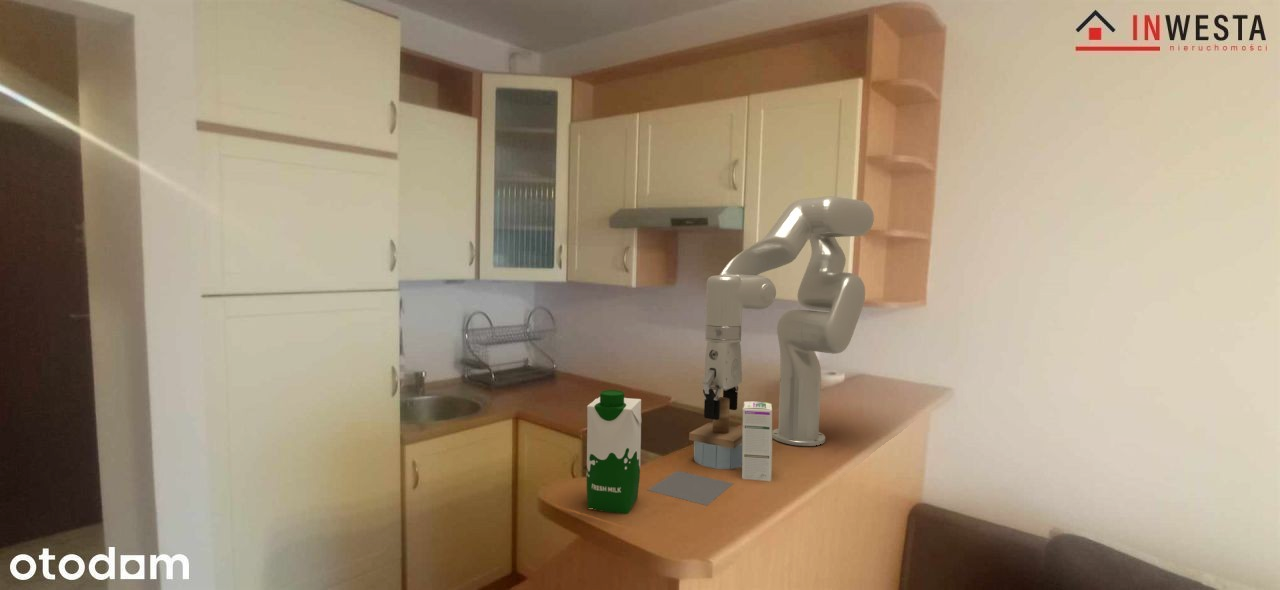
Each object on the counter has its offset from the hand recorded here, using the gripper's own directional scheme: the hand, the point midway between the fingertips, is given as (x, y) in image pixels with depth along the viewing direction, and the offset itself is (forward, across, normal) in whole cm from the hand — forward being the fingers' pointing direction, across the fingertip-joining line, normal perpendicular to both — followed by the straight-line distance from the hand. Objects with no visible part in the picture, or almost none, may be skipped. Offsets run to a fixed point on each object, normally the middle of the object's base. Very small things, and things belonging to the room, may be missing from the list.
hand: (721, 413), depth 119 cm
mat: (+10, -17, -2) cm, 20 cm away
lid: (+5, 0, 0) cm, 5 cm away
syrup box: (+10, -4, -10) cm, 15 cm away
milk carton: (+10, -31, +6) cm, 33 cm away
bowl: (+10, 0, 0) cm, 10 cm away
